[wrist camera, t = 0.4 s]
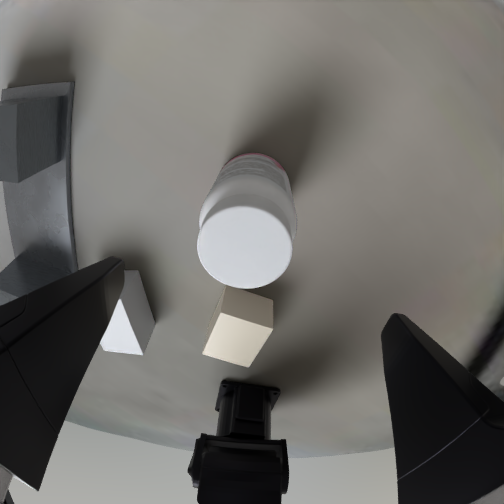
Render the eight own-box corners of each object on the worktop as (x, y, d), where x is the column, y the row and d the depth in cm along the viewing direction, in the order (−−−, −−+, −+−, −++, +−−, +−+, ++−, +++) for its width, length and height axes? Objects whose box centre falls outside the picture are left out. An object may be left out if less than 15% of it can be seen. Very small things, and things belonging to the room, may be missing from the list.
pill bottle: (204, 172, 19) (165, 226, 12) (269, 139, 18) (271, 173, 11) (238, 230, 21) (223, 309, 14) (301, 202, 20) (319, 272, 13)
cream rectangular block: (250, 337, 27) (248, 367, 24) (208, 324, 26) (202, 353, 23) (272, 299, 24) (273, 329, 21) (226, 283, 24) (220, 312, 21)
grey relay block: (155, 323, 27) (143, 354, 23) (119, 321, 27) (104, 350, 23) (139, 269, 24) (120, 299, 20) (99, 269, 24) (78, 297, 20)
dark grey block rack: (86, 317, 27) (62, 356, 22) (29, 297, 26) (3, 330, 21) (74, 81, 16) (23, 86, 11) (6, 88, 15) (-41, 99, 11)
